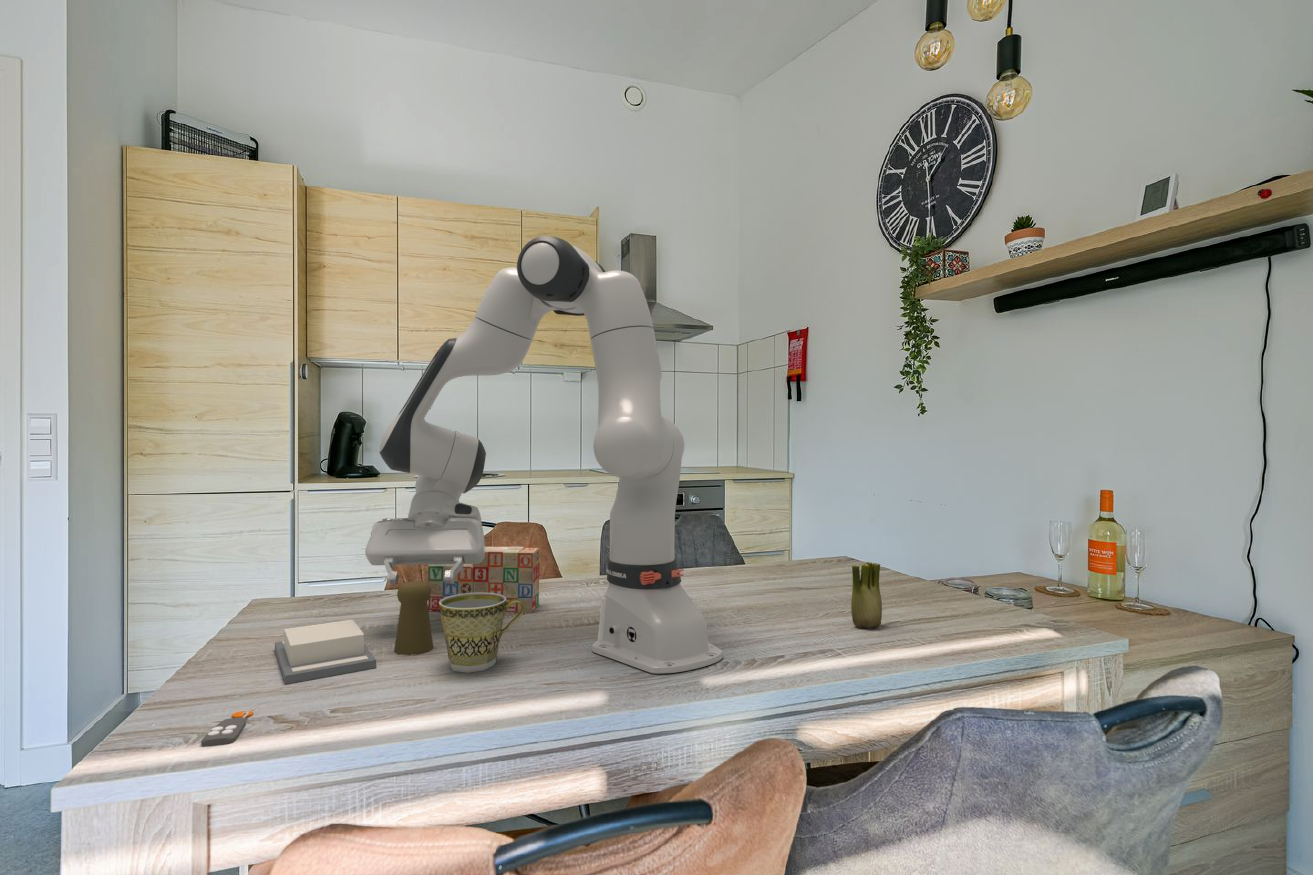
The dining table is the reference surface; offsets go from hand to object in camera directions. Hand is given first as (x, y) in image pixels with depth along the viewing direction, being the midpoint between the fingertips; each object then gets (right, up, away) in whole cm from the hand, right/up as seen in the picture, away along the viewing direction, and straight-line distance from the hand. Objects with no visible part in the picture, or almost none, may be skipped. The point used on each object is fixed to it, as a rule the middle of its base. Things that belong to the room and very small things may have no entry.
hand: (420, 582), depth 112 cm
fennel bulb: (+80, -10, +9) cm, 81 cm away
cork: (+1, -10, -5) cm, 11 cm away
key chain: (-11, -11, -32) cm, 35 cm away
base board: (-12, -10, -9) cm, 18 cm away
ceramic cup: (+14, -10, -11) cm, 21 cm away
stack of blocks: (+5, -10, +21) cm, 24 cm away
